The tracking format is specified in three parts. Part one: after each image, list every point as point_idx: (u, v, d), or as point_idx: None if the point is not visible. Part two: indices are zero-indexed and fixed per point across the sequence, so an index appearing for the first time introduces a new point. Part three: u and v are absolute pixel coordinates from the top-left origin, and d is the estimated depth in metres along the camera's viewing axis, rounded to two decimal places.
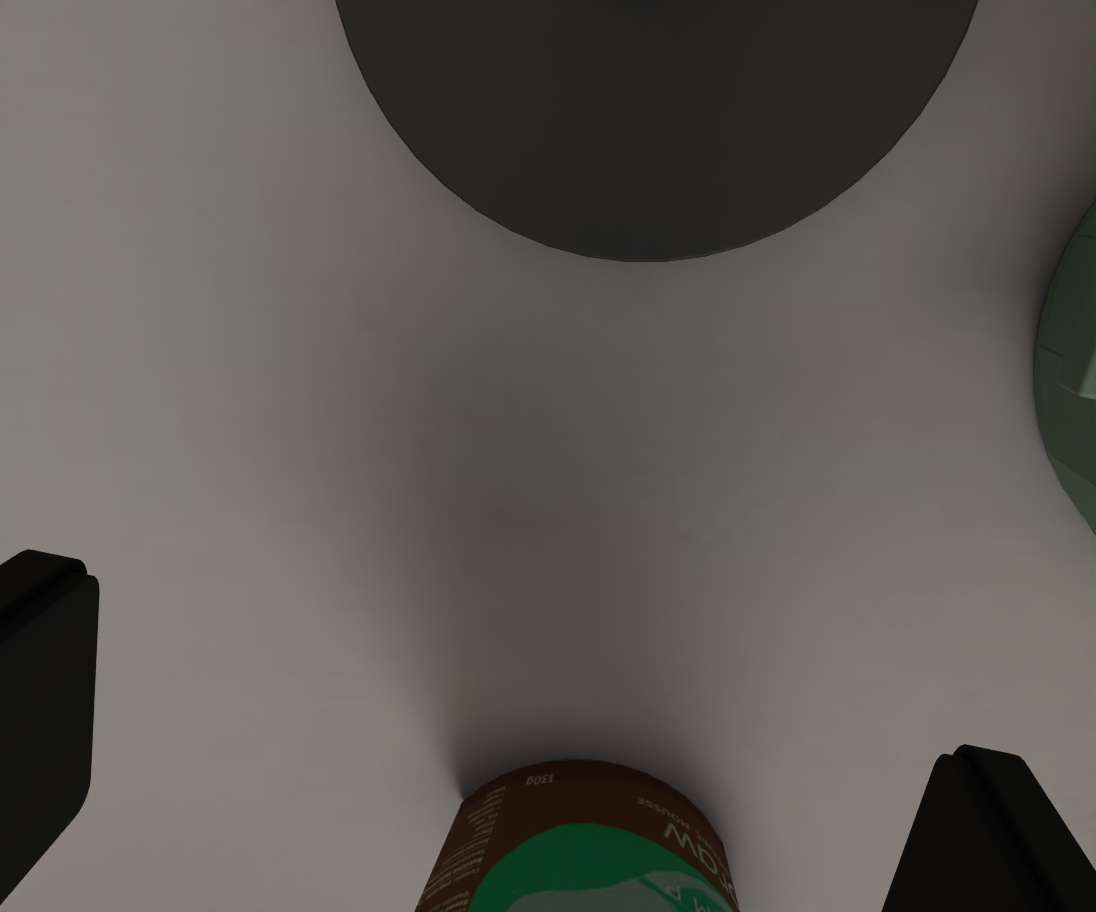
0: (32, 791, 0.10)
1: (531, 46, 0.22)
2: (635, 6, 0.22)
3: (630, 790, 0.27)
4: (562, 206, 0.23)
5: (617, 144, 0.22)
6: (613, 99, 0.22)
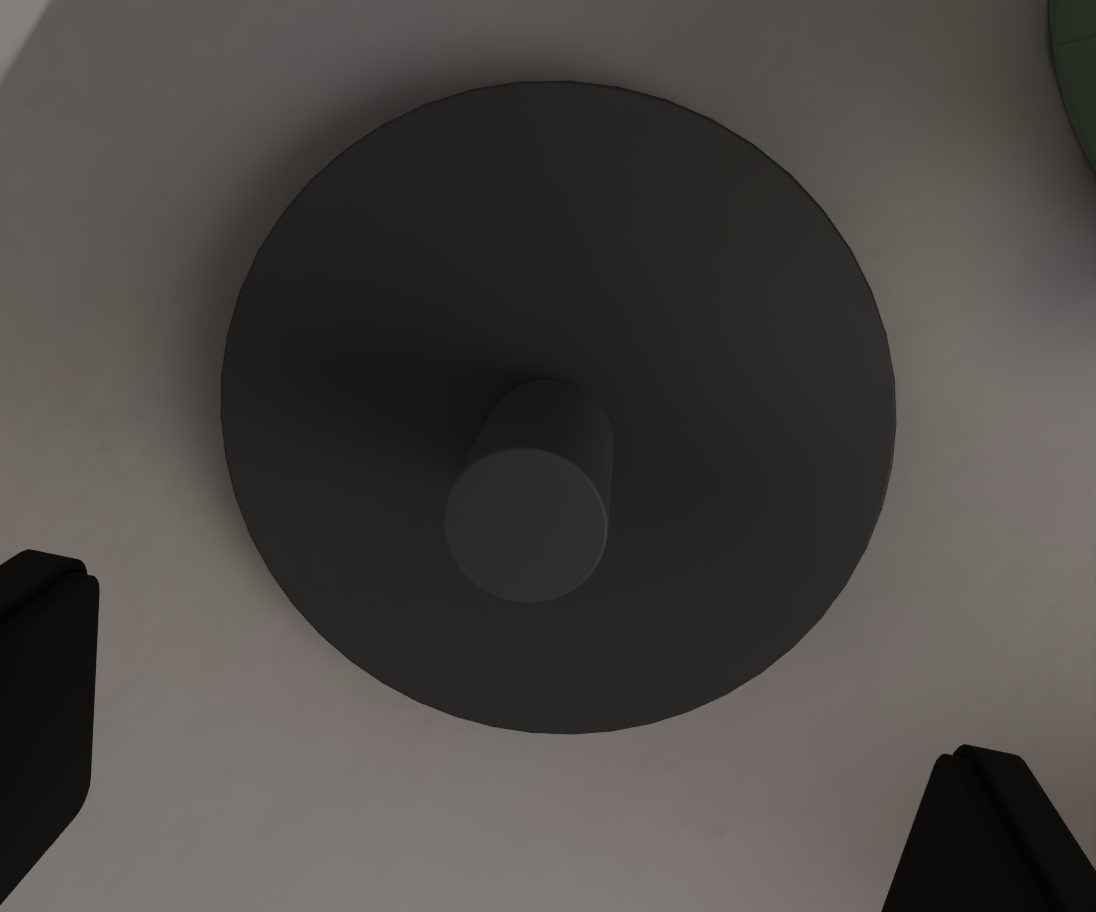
0: (32, 791, 0.10)
1: (585, 592, 0.22)
2: None
3: None
4: (734, 643, 0.22)
5: (713, 569, 0.21)
6: (672, 552, 0.21)
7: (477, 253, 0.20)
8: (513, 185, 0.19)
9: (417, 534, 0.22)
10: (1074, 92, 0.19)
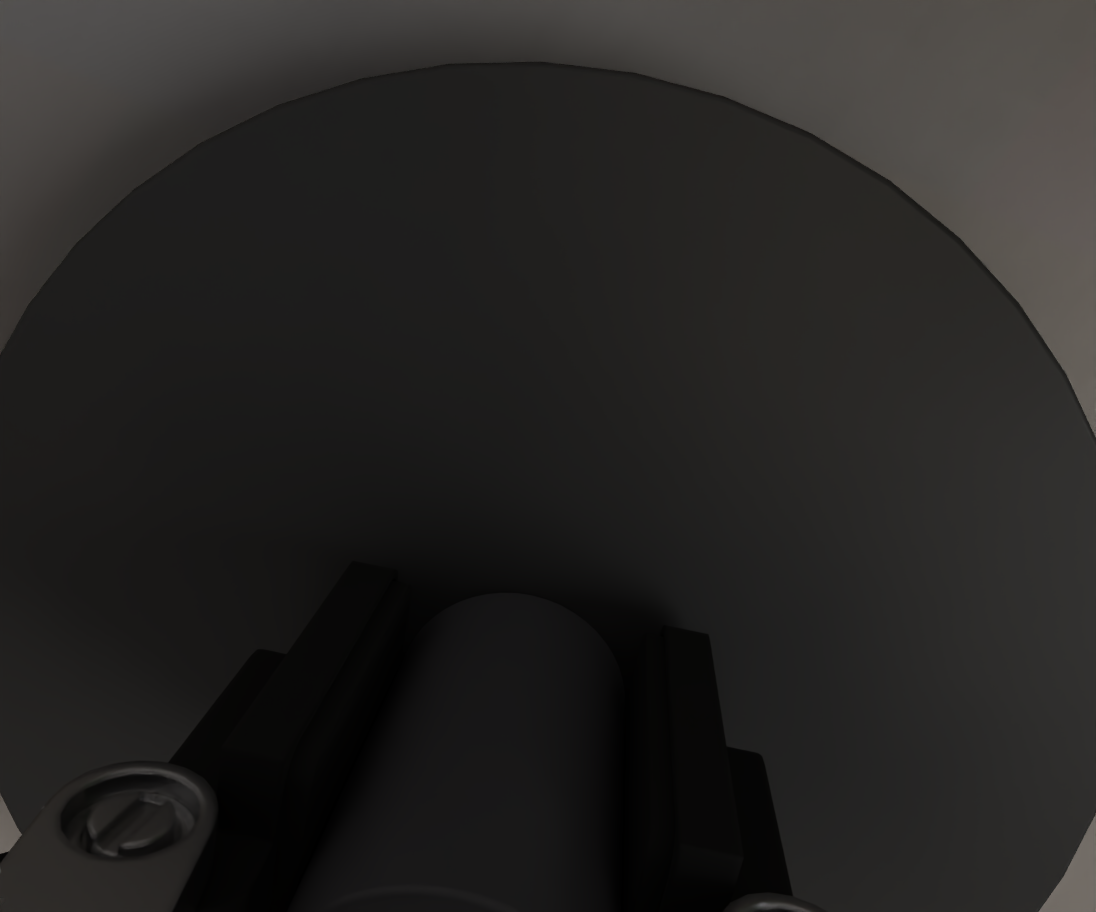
0: None
1: None
2: None
3: None
4: None
5: None
6: None
7: (378, 376, 0.11)
8: (441, 254, 0.11)
9: None
10: None
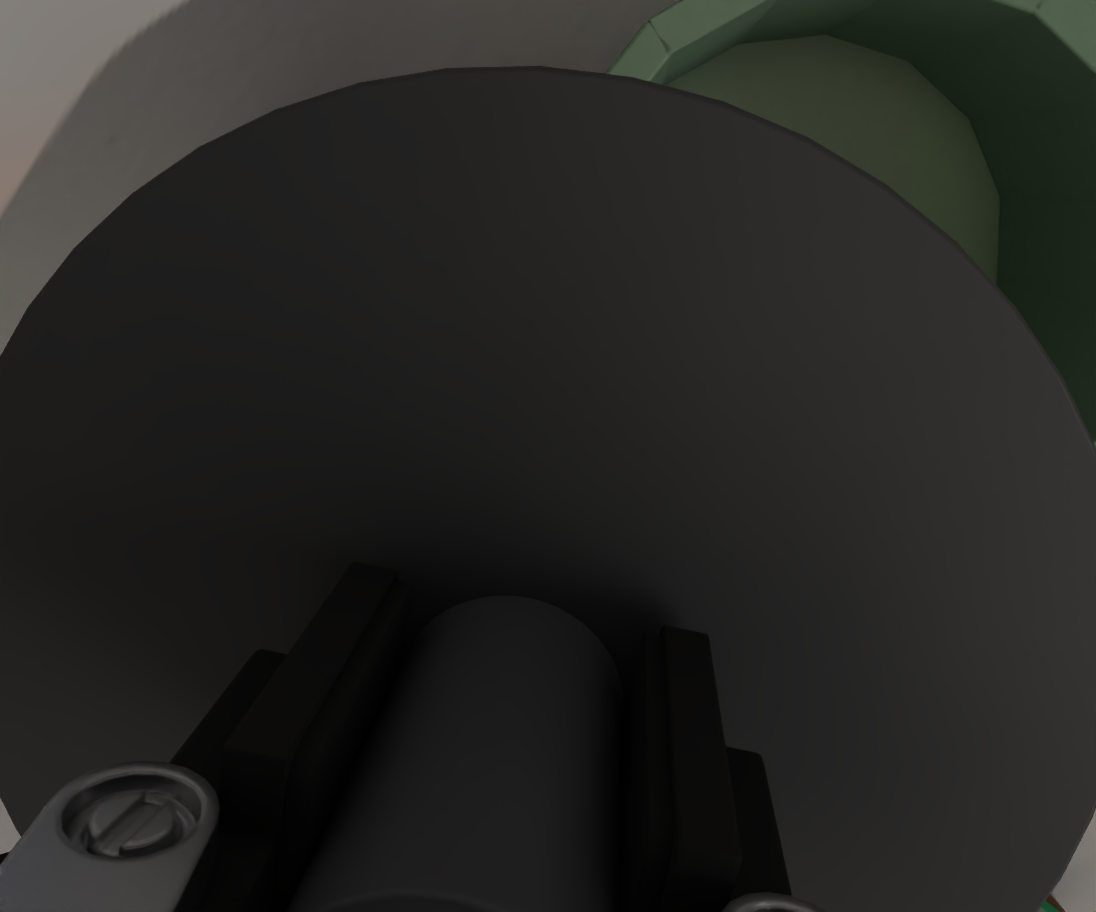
0: None
1: None
2: None
3: None
4: None
5: None
6: None
7: (377, 379, 0.11)
8: (439, 258, 0.11)
9: None
10: None
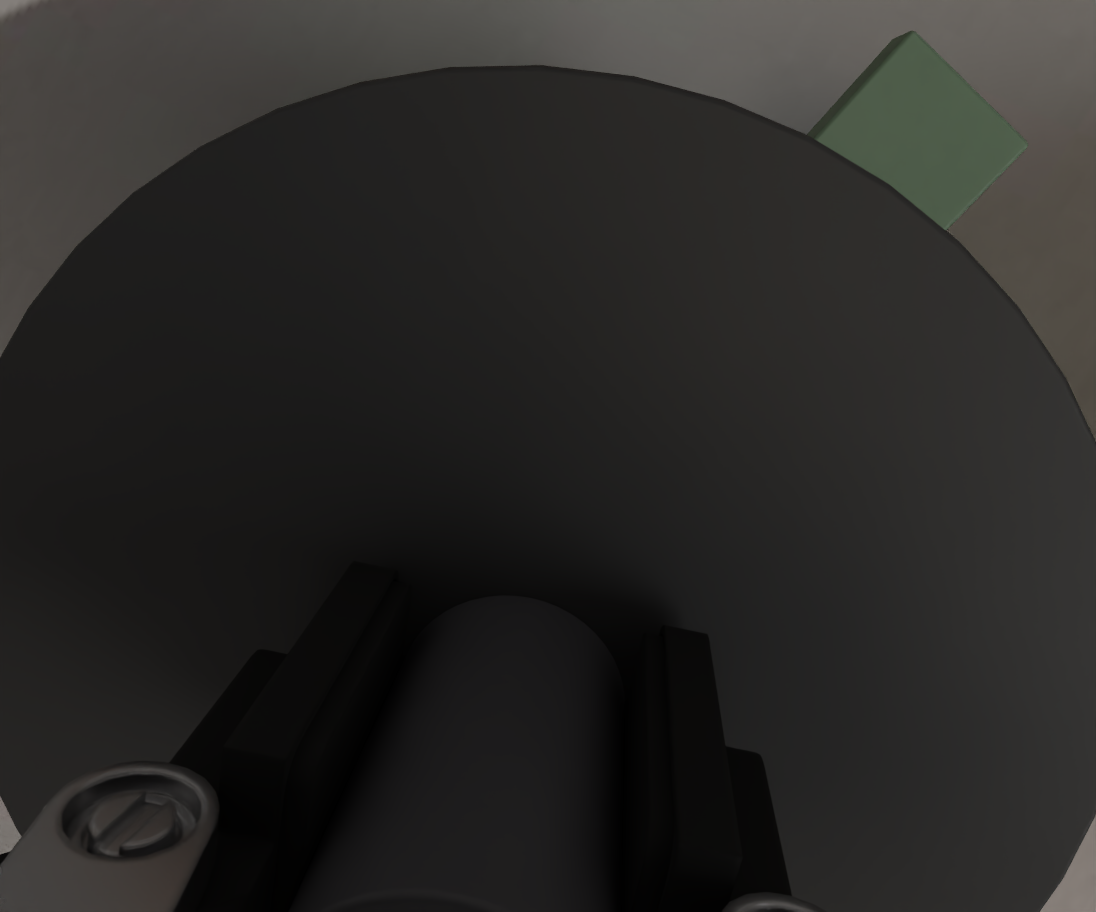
0: None
1: None
2: None
3: None
4: None
5: None
6: None
7: (378, 379, 0.11)
8: (441, 258, 0.11)
9: None
10: None
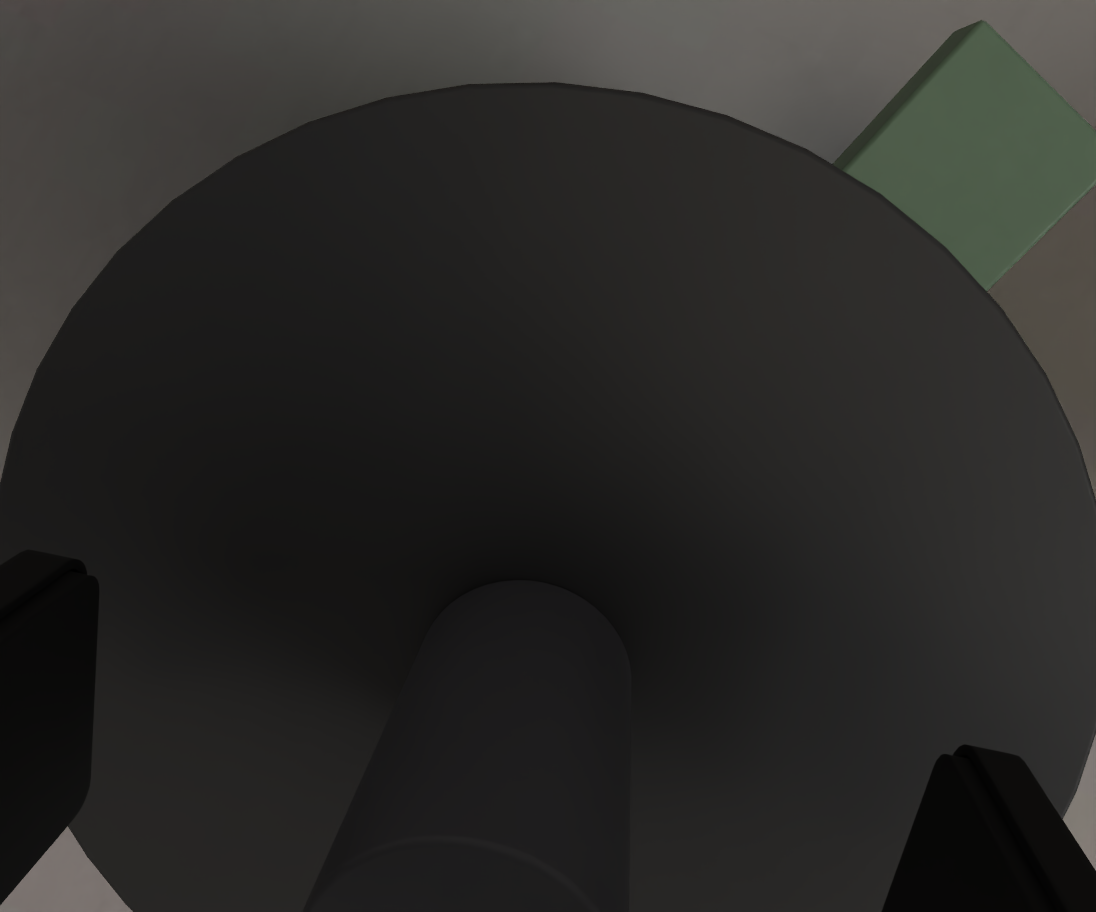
0: (32, 791, 0.10)
1: None
2: None
3: None
4: None
5: (792, 875, 0.13)
6: (727, 847, 0.13)
7: (401, 375, 0.12)
8: (459, 262, 0.11)
9: (316, 809, 0.14)
10: None
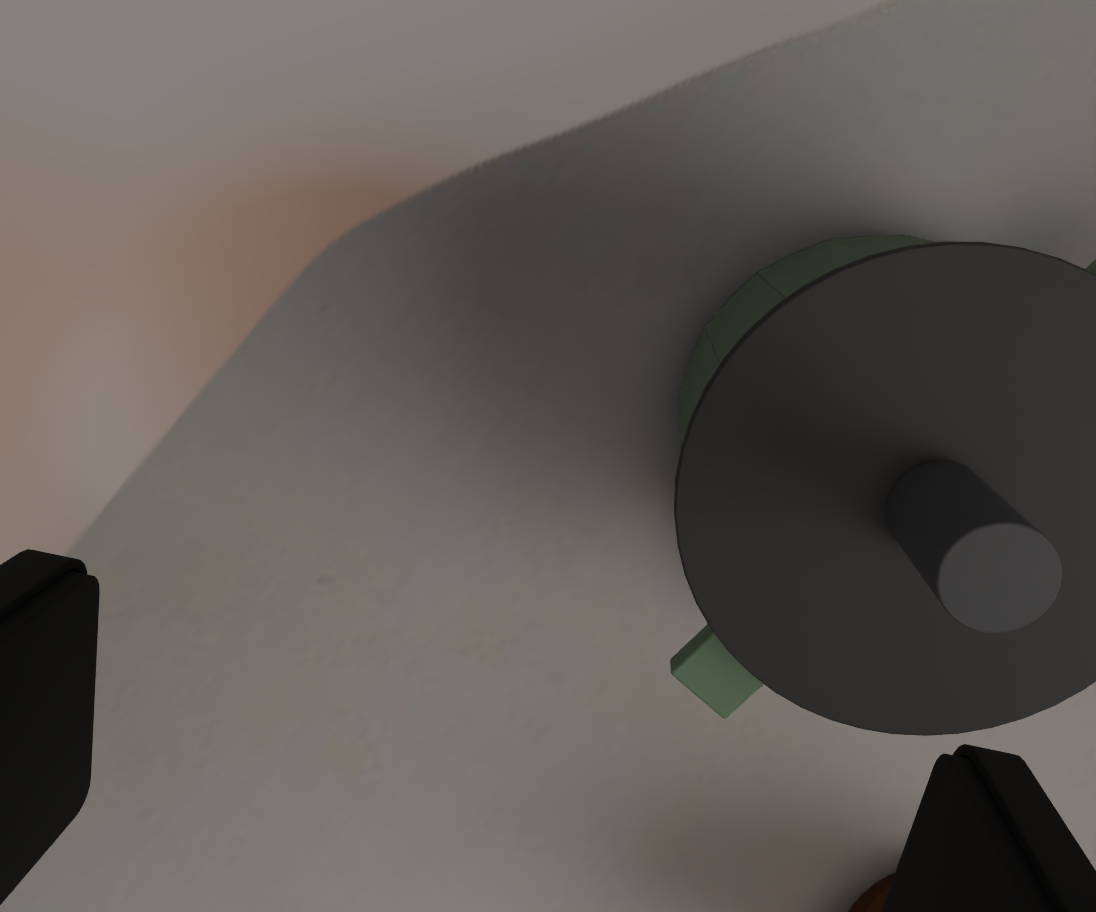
0: (32, 791, 0.10)
1: (950, 624, 0.28)
2: None
3: (884, 900, 0.41)
4: (1066, 665, 0.28)
5: (1055, 607, 0.28)
6: None
7: (899, 366, 0.26)
8: (934, 317, 0.26)
9: (821, 577, 0.28)
10: None
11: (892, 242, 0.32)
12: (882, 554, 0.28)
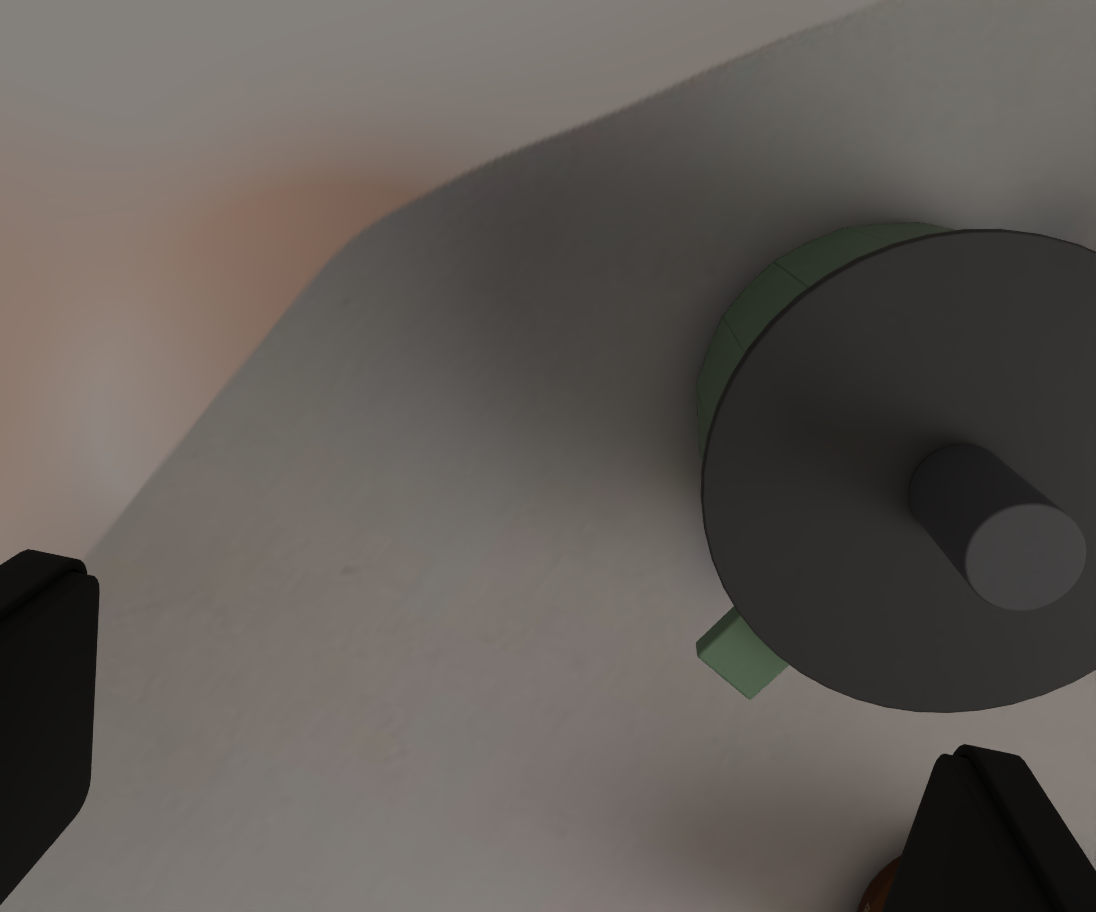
0: (32, 791, 0.10)
1: (972, 603, 0.29)
2: None
3: None
4: (1085, 642, 0.29)
5: (1075, 586, 0.28)
6: None
7: (921, 352, 0.27)
8: (955, 303, 0.26)
9: (846, 559, 0.29)
10: None
11: (909, 230, 0.32)
12: (905, 536, 0.28)
